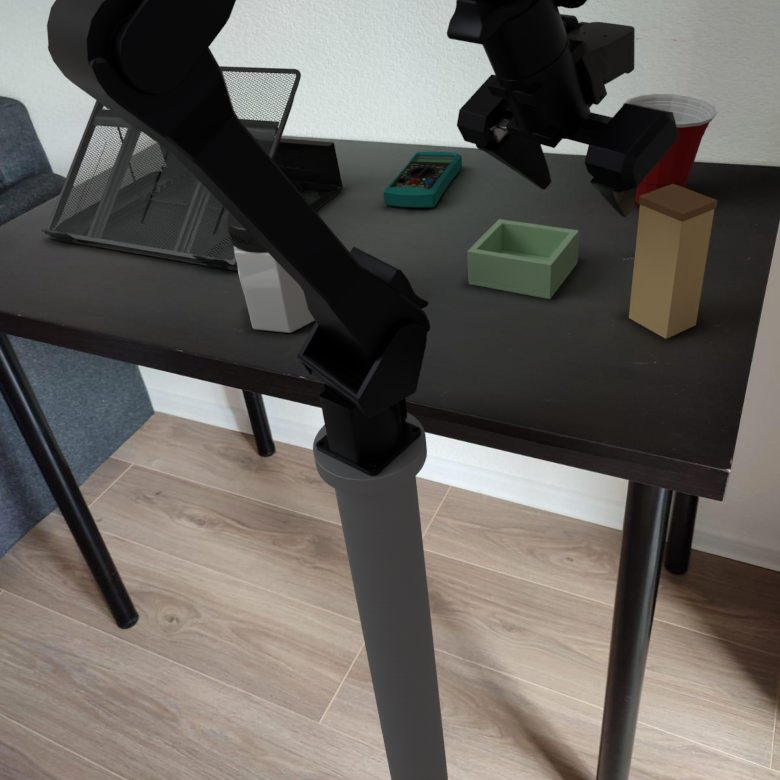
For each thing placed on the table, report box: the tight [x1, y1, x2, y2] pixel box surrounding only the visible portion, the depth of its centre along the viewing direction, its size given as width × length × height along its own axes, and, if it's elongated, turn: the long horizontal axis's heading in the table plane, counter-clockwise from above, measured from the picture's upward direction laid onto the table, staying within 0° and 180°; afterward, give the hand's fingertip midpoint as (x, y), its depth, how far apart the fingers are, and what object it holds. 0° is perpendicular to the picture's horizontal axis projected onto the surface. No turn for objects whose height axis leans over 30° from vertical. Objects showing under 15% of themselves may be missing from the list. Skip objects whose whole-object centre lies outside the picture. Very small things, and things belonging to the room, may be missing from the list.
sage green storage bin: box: [466, 218, 580, 300], centre depth 86 cm, size 9×10×4 cm
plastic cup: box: [622, 93, 718, 206], centre depth 96 cm, size 11×11×12 cm
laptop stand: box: [40, 65, 344, 272], centre depth 105 cm, size 33×28×18 cm
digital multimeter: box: [382, 151, 463, 209], centre depth 109 cm, size 7×15×3 cm, turn 160°
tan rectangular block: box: [628, 184, 718, 340], centre depth 73 cm, size 4×5×13 cm
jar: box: [226, 213, 316, 334], centre depth 82 cm, size 9×8×12 cm
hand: (585, 198), depth 68 cm, fingers open, 9 cm apart
